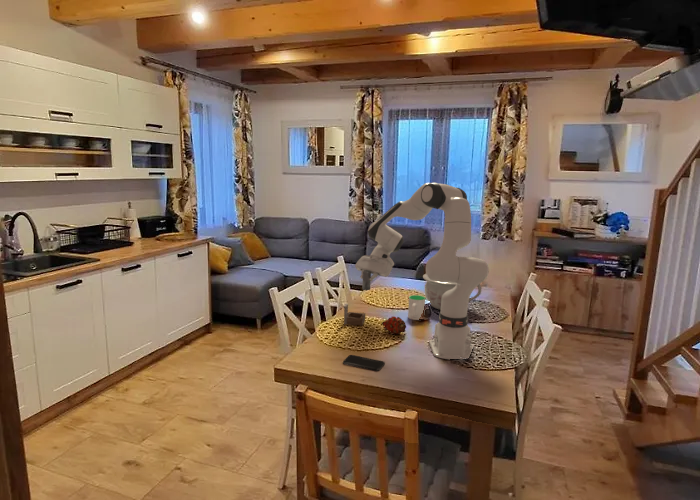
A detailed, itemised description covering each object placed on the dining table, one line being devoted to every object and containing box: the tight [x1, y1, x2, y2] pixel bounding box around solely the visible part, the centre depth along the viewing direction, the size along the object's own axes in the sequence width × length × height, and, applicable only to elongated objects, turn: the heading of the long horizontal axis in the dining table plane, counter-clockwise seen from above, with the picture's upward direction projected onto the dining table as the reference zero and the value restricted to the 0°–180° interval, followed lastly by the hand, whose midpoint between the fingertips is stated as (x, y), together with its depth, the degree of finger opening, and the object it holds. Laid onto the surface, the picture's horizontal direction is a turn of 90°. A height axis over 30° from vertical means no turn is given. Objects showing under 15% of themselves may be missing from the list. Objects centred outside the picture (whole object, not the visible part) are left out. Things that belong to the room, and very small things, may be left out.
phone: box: [342, 354, 385, 372], centre depth 176 cm, size 8×1×15 cm
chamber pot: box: [422, 273, 483, 311], centre depth 245 cm, size 28×28×21 cm
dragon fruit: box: [381, 315, 407, 335], centre depth 207 cm, size 8×8×12 cm
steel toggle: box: [361, 271, 372, 291], centre depth 227 cm, size 4×4×9 cm
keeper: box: [343, 303, 366, 327], centre depth 219 cm, size 10×9×10 cm
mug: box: [407, 294, 426, 321], centre depth 227 cm, size 12×8×10 cm, turn 162°
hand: (365, 279), depth 226 cm, fingers closed on steel toggle, 4 cm apart
